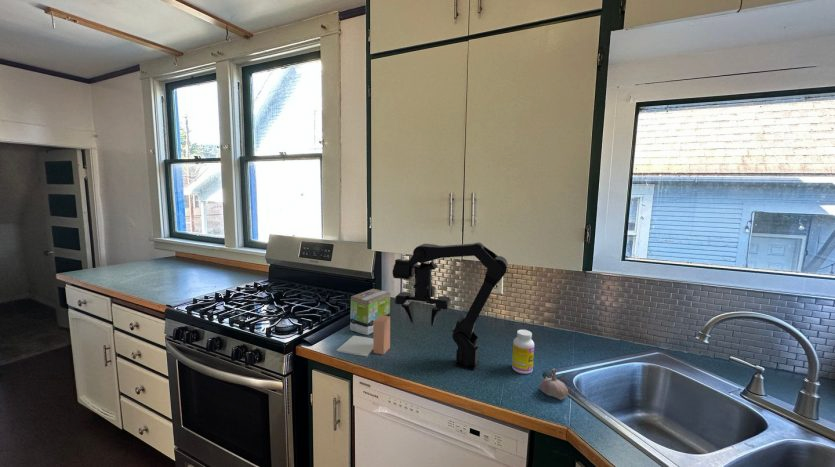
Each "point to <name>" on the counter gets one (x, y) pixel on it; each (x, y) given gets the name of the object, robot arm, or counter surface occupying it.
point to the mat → (357, 346)
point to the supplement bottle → (523, 352)
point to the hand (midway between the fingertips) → (422, 324)
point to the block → (381, 334)
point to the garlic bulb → (554, 387)
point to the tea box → (368, 309)
